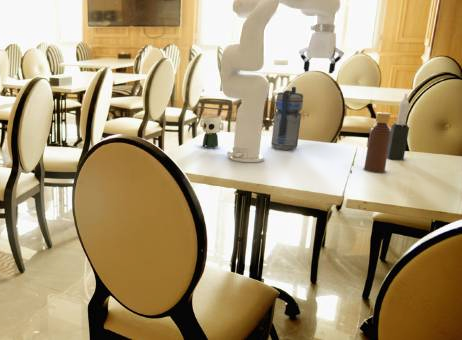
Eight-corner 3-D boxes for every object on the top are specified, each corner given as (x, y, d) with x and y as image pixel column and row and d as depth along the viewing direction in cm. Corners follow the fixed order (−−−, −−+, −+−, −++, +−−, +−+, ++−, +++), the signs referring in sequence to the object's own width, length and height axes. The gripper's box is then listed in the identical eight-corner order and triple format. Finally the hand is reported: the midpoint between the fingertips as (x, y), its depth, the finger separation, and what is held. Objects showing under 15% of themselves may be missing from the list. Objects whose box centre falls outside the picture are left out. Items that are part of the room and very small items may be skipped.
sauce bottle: (383, 173, 178) (393, 116, 172) (362, 170, 181) (372, 114, 176) (385, 169, 183) (395, 114, 178) (365, 166, 186) (374, 112, 181)
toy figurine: (194, 146, 215) (196, 115, 211) (203, 144, 220) (205, 113, 216) (217, 151, 207) (219, 119, 204) (226, 148, 212) (228, 117, 209)
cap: (388, 123, 175) (389, 114, 174) (375, 122, 177) (376, 113, 176) (389, 121, 178) (391, 112, 177) (376, 120, 180) (378, 111, 179)
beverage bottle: (265, 149, 211) (272, 88, 205) (275, 144, 222) (282, 85, 215) (291, 153, 205) (299, 90, 199) (300, 147, 216) (307, 87, 209)
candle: (389, 159, 198) (401, 94, 191) (385, 156, 202) (396, 92, 196) (404, 160, 196) (416, 95, 190) (399, 157, 201) (411, 93, 194)
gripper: (299, 29, 210) (294, 71, 215) (344, 29, 199) (338, 74, 204) (305, 29, 216) (300, 70, 220) (349, 29, 205) (343, 73, 209)
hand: (318, 72), depth 212 cm, fingers open, 9 cm apart
